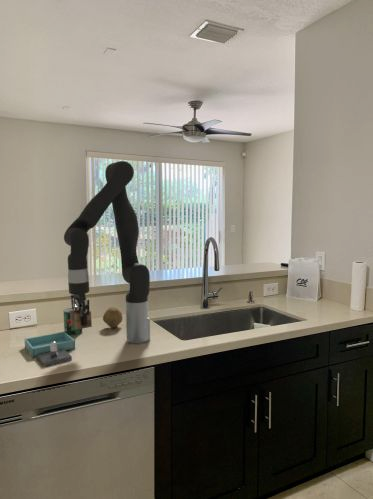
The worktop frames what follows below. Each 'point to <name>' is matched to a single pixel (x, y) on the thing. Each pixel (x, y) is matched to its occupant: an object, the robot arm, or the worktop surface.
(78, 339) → the worktop surface
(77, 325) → the hollow wooden cube
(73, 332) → the canned tomato
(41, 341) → the teal tray
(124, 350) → the worktop surface
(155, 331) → the worktop surface
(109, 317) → the natural sponge
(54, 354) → the gauge pin stand
